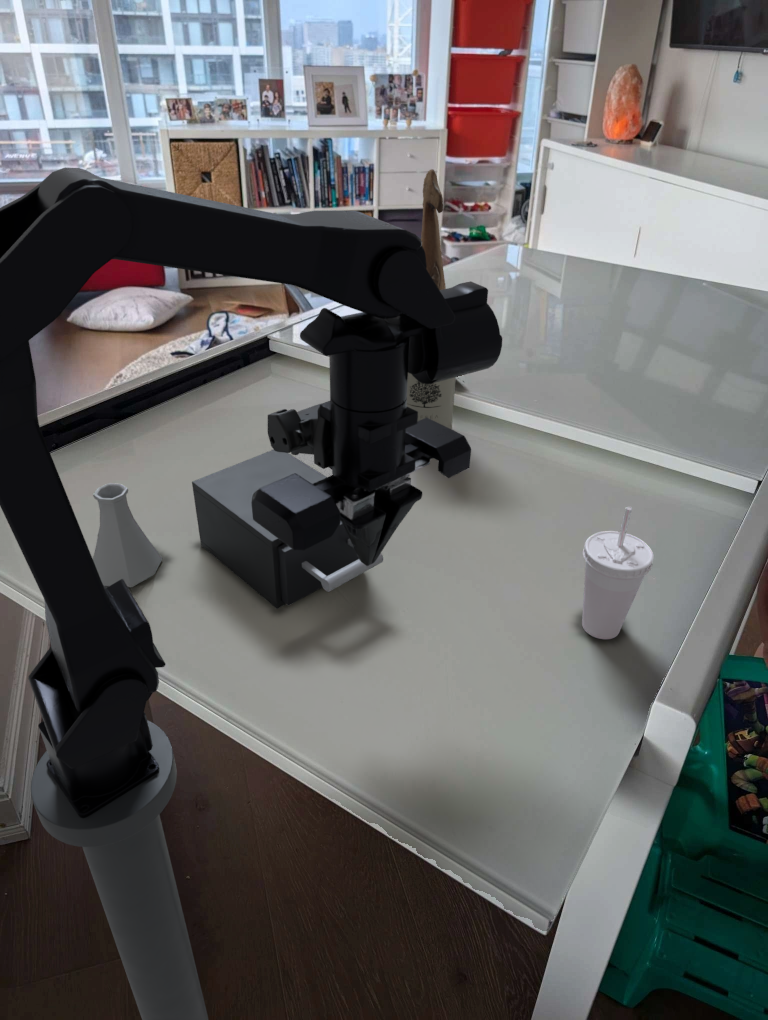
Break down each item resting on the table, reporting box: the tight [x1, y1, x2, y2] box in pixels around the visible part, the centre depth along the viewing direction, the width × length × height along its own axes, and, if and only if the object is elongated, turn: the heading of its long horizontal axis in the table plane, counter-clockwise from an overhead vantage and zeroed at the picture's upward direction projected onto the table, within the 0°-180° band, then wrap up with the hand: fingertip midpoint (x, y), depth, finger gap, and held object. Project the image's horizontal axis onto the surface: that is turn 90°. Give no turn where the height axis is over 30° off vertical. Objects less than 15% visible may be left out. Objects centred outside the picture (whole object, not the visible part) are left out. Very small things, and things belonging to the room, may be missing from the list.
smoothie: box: [581, 506, 655, 640], centre depth 72 cm, size 6×6×14 cm
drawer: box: [278, 520, 384, 606], centre depth 80 cm, size 18×10×7 cm, turn 43°
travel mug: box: [407, 373, 457, 430], centre depth 104 cm, size 8×8×18 cm
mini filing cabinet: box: [191, 449, 328, 610], centre depth 83 cm, size 15×12×9 cm
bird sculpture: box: [420, 168, 447, 290], centre depth 117 cm, size 11×12×32 cm
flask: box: [92, 482, 163, 588], centre depth 80 cm, size 7×7×10 cm
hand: (367, 562), depth 65 cm, fingers closed
